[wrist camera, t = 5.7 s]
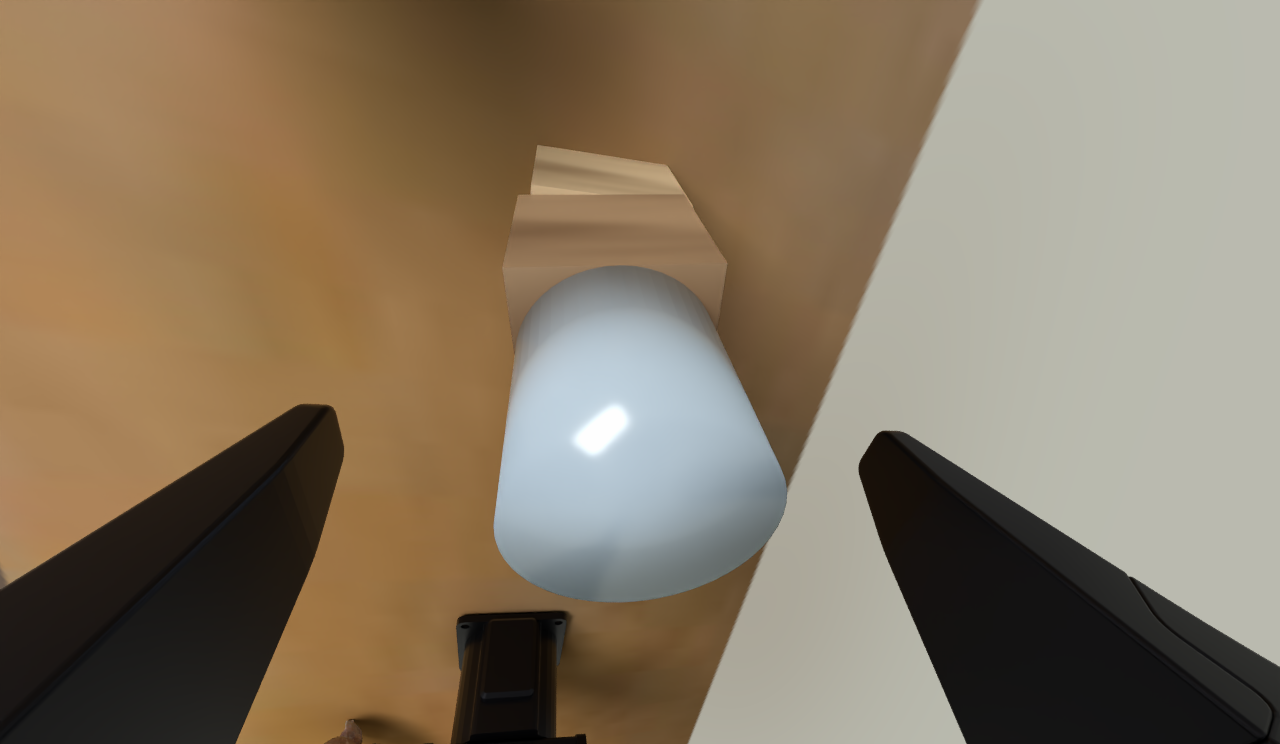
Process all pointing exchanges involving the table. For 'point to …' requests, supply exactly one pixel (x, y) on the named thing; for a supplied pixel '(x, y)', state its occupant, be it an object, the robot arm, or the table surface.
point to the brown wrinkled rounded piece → (348, 735)
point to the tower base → (598, 175)
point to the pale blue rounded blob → (630, 444)
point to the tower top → (607, 245)
